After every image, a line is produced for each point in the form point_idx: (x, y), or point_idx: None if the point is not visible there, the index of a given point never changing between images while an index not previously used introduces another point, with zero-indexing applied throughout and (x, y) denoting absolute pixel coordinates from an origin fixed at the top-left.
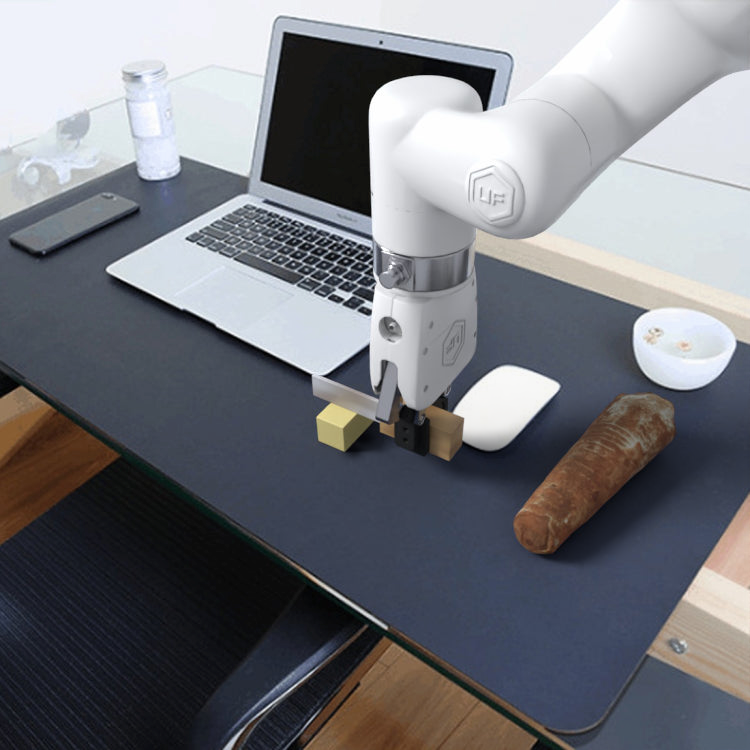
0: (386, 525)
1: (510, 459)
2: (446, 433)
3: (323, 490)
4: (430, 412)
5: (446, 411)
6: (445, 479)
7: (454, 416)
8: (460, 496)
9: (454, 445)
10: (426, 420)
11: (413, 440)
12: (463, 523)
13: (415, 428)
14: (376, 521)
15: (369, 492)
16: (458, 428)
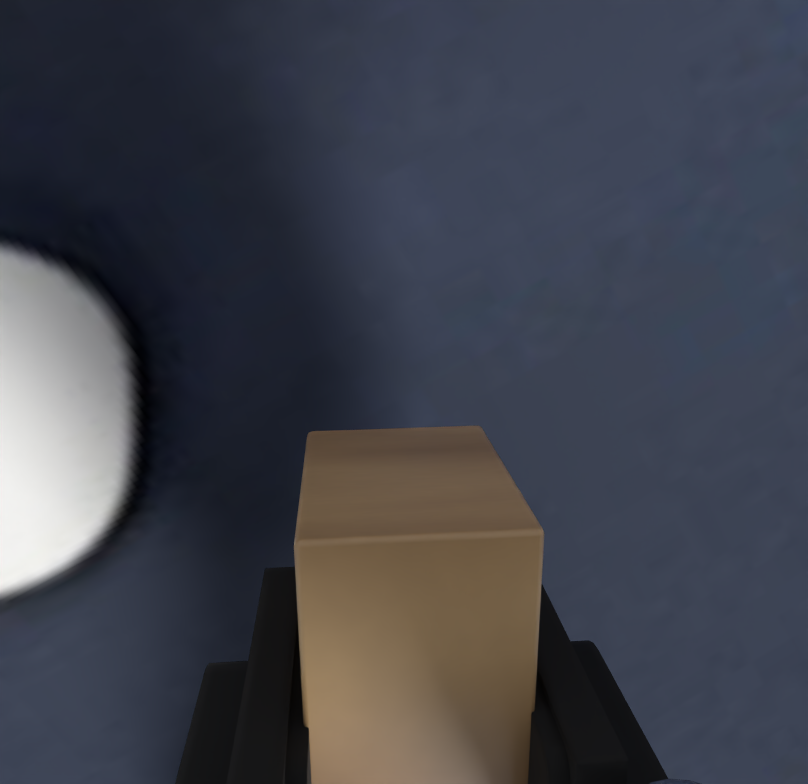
0: (793, 470)
1: (92, 173)
2: (540, 564)
3: (720, 754)
4: (399, 778)
5: (314, 695)
6: (424, 398)
7: (332, 616)
8: (491, 280)
9: (440, 459)
10: (606, 778)
11: (616, 694)
12: (646, 181)
13: (645, 772)
14: (788, 514)
15: (655, 620)
16: (407, 517)
